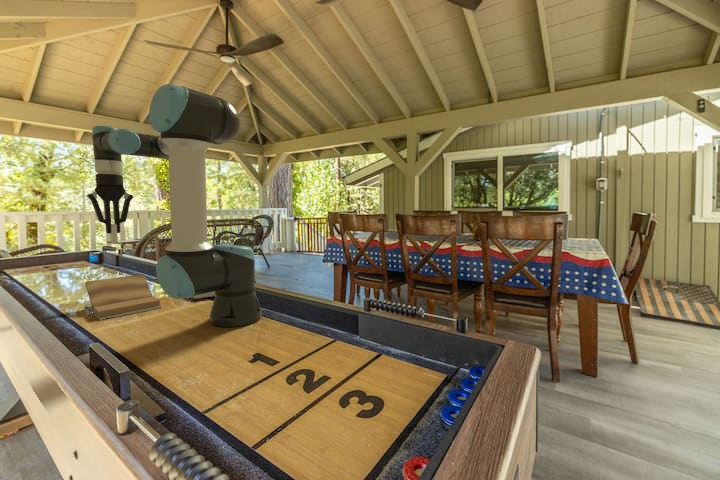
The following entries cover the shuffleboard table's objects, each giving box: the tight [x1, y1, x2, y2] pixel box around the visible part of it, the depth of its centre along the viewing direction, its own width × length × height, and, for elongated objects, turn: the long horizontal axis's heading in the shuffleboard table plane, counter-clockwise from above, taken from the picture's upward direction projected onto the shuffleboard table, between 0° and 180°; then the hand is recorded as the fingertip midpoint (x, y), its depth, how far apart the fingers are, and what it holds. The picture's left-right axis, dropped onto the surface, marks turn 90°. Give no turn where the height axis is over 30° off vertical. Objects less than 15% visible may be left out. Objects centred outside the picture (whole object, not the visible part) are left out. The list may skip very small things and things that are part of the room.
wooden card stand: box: [85, 296, 162, 321], centre depth 116 cm, size 21×17×3 cm
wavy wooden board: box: [85, 273, 154, 310], centre depth 118 cm, size 11×17×2 cm
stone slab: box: [187, 291, 215, 302], centre depth 136 cm, size 10×3×30 cm
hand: (114, 242), depth 118 cm, fingers closed
